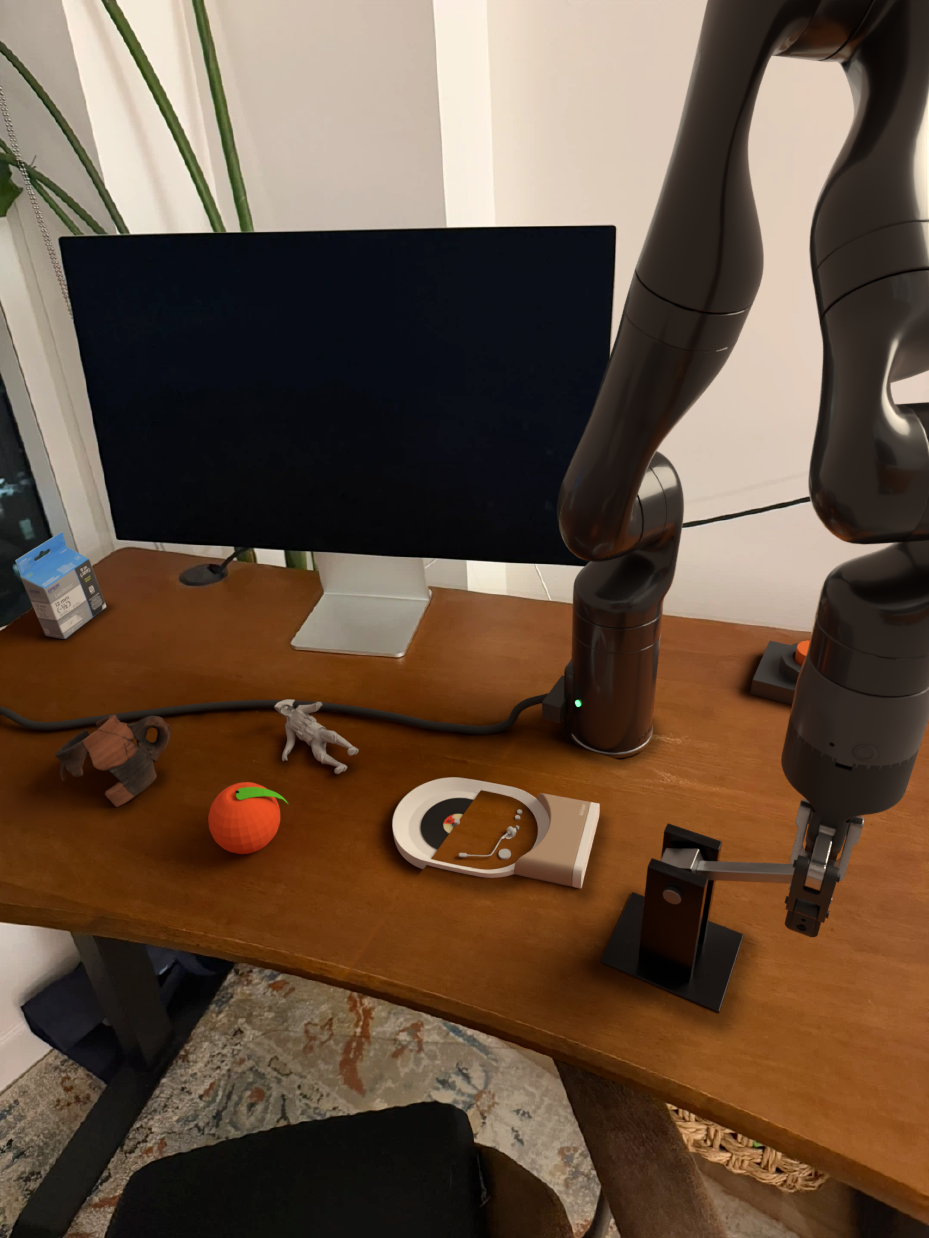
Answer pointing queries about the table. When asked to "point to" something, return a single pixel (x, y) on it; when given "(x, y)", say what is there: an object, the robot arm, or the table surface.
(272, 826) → the clementine
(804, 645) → the button
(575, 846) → the record player
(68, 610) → the label tape box
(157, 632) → the table surface
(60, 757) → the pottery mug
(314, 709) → the soldier figure
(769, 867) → the lever
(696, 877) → the bracket
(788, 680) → the button box
